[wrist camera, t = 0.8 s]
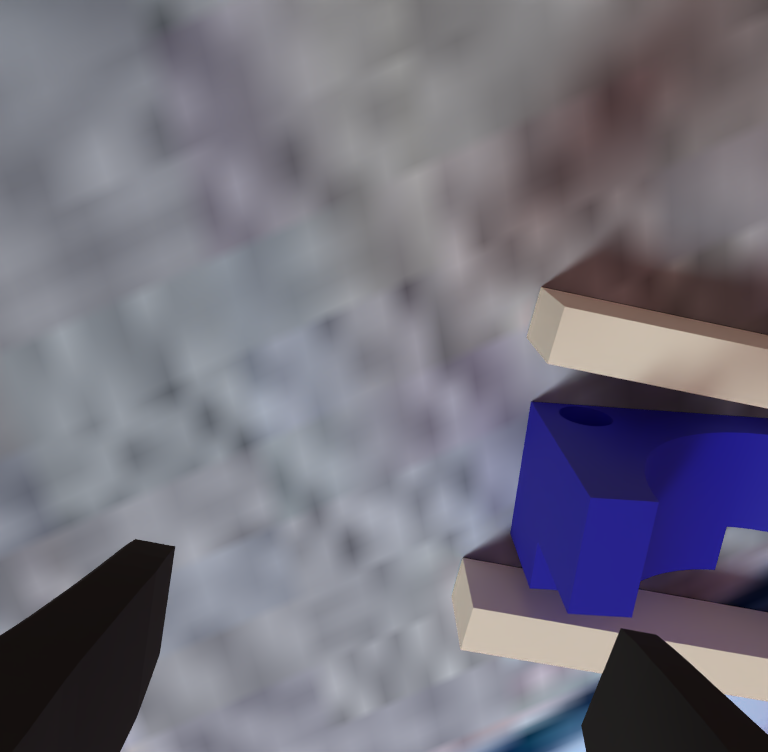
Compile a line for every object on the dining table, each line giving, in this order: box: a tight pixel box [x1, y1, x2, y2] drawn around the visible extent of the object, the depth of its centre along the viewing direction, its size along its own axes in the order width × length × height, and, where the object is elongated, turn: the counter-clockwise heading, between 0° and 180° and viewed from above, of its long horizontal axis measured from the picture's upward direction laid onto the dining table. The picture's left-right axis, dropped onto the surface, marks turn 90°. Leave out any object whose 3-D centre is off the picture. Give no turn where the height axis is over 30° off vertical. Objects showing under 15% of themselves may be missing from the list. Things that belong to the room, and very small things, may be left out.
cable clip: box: [510, 402, 768, 618], centre depth 18 cm, size 12×4×6 cm, turn 85°
